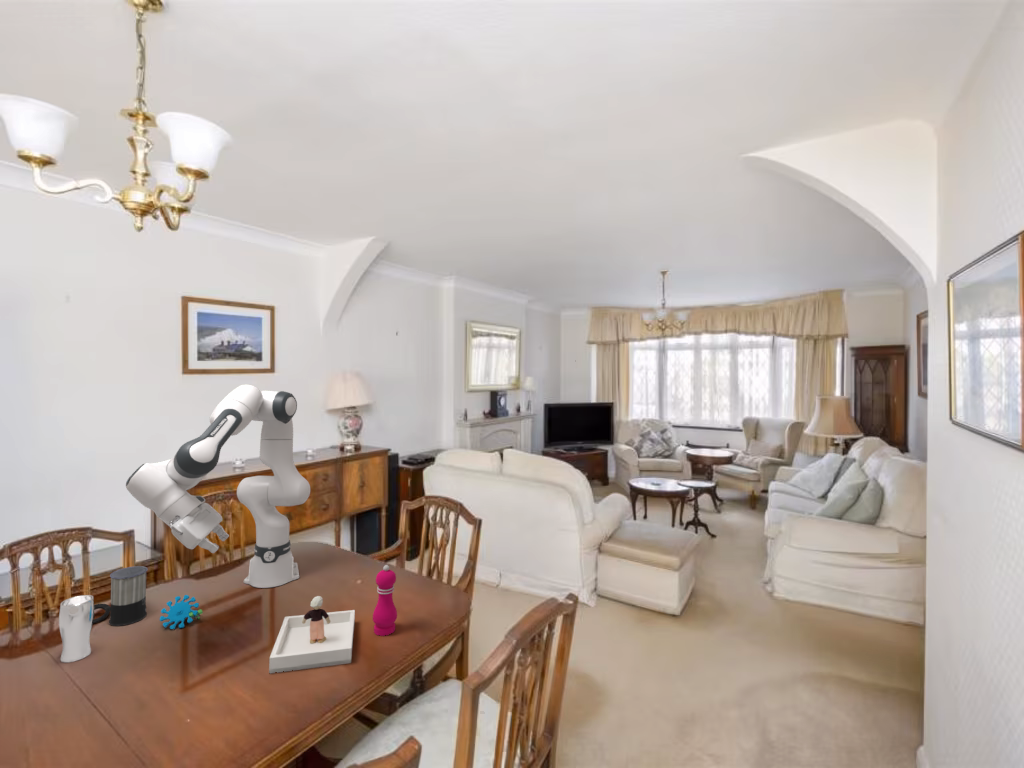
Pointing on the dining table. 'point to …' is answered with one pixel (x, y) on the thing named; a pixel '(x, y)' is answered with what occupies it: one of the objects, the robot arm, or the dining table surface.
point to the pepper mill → (385, 603)
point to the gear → (180, 612)
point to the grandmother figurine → (316, 620)
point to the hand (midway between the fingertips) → (221, 544)
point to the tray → (298, 651)
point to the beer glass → (76, 627)
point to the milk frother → (126, 597)
